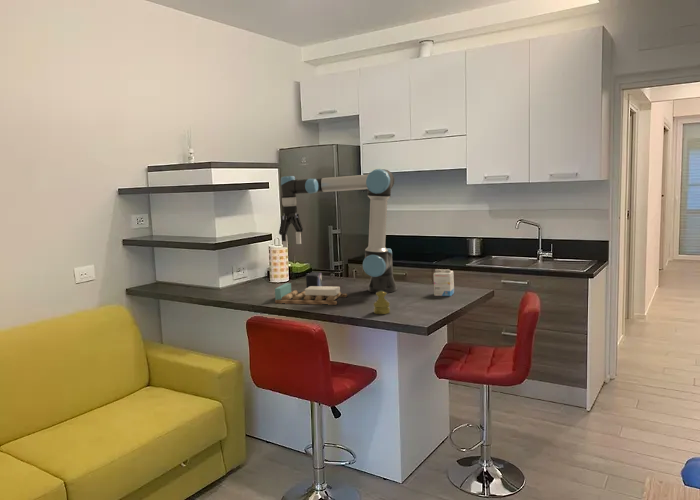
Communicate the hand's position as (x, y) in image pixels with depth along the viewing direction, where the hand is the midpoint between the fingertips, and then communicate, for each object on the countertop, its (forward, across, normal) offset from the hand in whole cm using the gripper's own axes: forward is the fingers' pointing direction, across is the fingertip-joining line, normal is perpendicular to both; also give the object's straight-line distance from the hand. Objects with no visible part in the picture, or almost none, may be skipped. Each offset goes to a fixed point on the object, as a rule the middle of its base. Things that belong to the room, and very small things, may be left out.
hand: (292, 245), depth 295 cm
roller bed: (+27, +9, +15) cm, 32 cm away
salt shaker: (+27, +24, +60) cm, 70 cm away
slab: (+24, +8, +21) cm, 33 cm away
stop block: (+27, +12, 0) cm, 29 cm away
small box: (+27, -8, +7) cm, 29 cm away
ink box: (+28, -20, +76) cm, 84 cm away
